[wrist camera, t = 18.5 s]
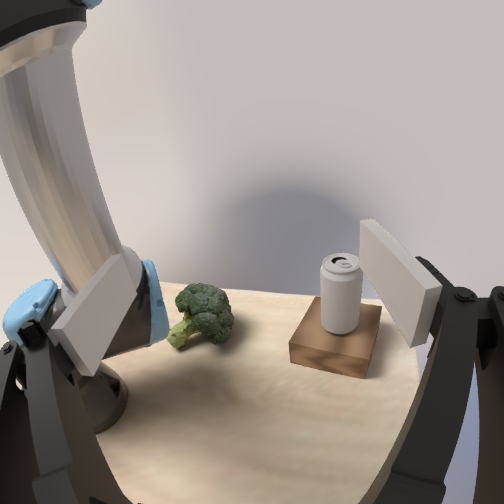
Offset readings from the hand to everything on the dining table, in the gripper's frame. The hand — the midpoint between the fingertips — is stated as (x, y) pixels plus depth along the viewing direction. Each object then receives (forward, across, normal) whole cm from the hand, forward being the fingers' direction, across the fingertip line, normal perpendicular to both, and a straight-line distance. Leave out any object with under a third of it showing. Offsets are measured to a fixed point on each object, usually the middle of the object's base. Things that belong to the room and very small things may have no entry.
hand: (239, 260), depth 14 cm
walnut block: (+21, +12, -30) cm, 39 cm away
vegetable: (+27, -13, -30) cm, 43 cm away
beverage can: (+21, +12, -25) cm, 35 cm away
